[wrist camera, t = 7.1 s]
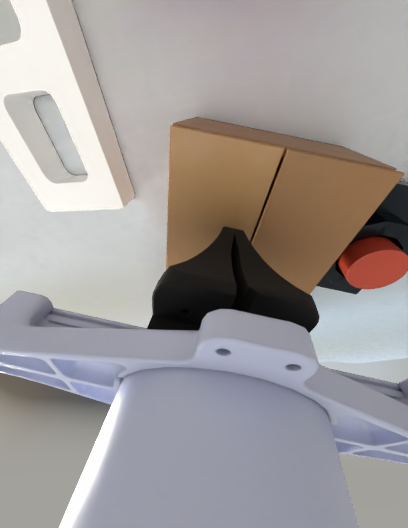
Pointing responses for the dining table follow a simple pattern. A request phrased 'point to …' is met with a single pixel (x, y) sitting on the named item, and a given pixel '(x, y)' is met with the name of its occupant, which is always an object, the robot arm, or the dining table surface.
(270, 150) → the flap
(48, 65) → the holder
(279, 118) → the dining table surface
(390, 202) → the block
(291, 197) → the carton
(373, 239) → the button
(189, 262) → the robot arm
